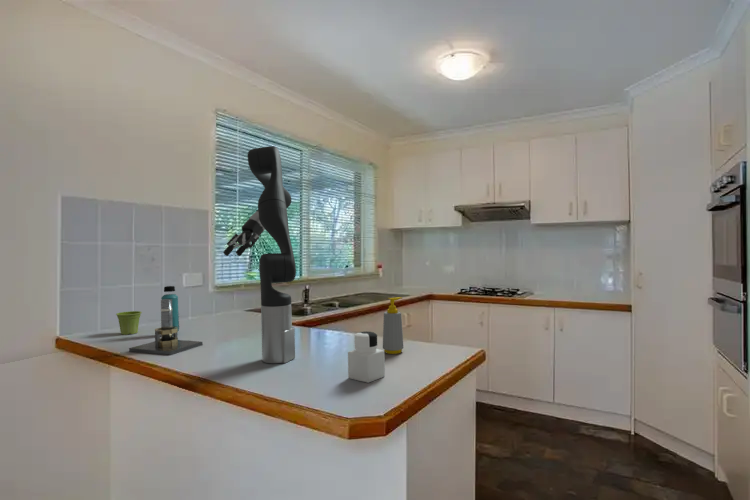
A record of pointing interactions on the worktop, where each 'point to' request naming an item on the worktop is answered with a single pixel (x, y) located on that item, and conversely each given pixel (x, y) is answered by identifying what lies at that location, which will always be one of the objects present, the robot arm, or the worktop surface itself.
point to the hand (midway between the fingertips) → (231, 254)
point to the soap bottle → (392, 329)
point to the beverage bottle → (174, 304)
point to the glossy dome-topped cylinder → (166, 318)
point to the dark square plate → (166, 344)
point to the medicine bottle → (366, 358)
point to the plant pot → (129, 322)
